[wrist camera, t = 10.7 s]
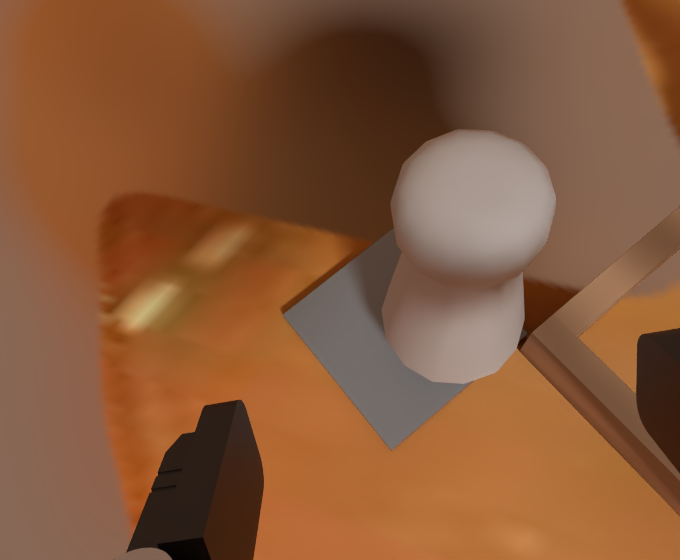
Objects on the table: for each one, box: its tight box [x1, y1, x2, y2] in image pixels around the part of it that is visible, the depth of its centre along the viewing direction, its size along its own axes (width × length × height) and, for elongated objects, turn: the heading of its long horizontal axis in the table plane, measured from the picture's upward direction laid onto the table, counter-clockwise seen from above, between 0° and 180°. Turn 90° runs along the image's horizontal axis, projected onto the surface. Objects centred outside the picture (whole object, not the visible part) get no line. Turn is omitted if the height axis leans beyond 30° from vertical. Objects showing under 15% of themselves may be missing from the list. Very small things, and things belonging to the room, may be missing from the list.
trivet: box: [283, 228, 528, 451], centre depth 27 cm, size 8×8×1 cm
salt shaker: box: [382, 129, 556, 384], centre depth 21 cm, size 6×6×13 cm
